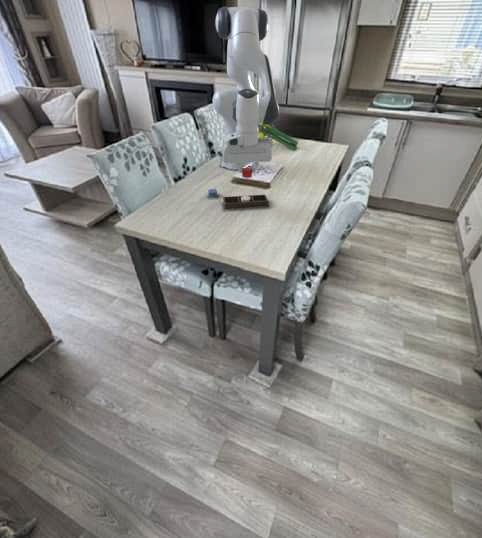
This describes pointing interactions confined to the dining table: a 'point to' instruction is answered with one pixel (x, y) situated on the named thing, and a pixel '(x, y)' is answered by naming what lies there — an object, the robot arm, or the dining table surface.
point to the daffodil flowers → (289, 143)
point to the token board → (239, 204)
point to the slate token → (212, 193)
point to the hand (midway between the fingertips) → (247, 172)
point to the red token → (247, 172)
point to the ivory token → (245, 199)
